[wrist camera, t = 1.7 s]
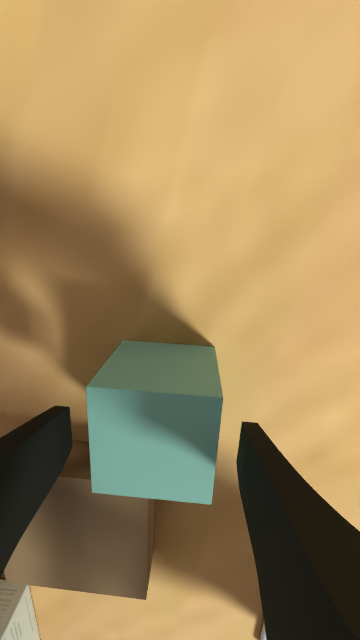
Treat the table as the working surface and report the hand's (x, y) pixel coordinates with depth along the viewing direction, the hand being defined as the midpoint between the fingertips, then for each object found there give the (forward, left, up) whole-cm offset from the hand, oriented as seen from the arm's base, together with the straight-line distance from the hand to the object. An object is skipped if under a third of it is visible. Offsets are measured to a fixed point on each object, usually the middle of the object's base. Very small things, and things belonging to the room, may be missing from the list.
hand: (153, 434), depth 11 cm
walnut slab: (+5, +9, -5) cm, 11 cm away
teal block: (0, 0, -4) cm, 4 cm away
